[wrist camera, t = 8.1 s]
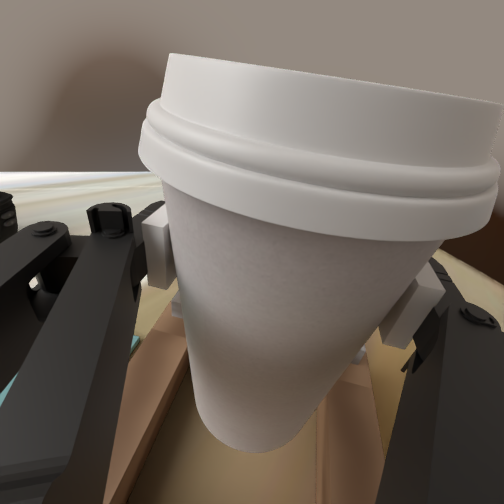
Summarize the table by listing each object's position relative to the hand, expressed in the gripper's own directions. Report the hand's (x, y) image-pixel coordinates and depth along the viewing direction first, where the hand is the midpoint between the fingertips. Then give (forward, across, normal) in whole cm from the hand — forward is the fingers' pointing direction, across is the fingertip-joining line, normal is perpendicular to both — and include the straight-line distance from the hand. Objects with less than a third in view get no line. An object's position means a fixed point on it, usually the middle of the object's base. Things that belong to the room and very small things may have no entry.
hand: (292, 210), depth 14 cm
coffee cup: (-5, 0, -9) cm, 10 cm away
